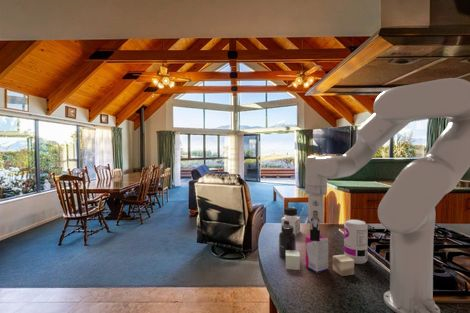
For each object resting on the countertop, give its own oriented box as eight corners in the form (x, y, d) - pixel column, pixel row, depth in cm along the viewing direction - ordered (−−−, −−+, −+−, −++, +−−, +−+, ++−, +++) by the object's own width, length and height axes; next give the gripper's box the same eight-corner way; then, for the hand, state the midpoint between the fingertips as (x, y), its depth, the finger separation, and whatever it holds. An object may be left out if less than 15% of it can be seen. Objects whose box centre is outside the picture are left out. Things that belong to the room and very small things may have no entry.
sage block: (299, 270, 89) (299, 256, 89) (285, 268, 90) (285, 255, 90) (299, 263, 94) (299, 250, 94) (285, 262, 95) (285, 250, 95)
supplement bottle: (276, 257, 100) (276, 227, 100) (281, 250, 106) (281, 223, 106) (293, 260, 97) (293, 230, 97) (297, 253, 103) (297, 225, 103)
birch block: (354, 274, 86) (354, 260, 86) (341, 276, 85) (341, 261, 84) (344, 267, 91) (344, 254, 90) (332, 269, 89) (332, 255, 89)
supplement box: (328, 269, 89) (328, 238, 89) (317, 273, 86) (316, 241, 86) (316, 263, 94) (316, 233, 94) (305, 266, 92) (304, 236, 91)
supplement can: (344, 262, 94) (344, 223, 94) (343, 254, 102) (343, 218, 102) (368, 266, 91) (368, 225, 91) (365, 257, 99) (365, 219, 99)
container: (295, 235, 125) (295, 210, 125) (281, 233, 129) (280, 208, 129) (300, 231, 132) (300, 207, 131) (286, 229, 136) (286, 205, 136)
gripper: (327, 194, 81) (326, 246, 81) (325, 186, 97) (325, 229, 98) (304, 193, 83) (303, 243, 84) (306, 185, 99) (305, 227, 100)
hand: (314, 235), depth 91 cm, fingers open, 9 cm apart
